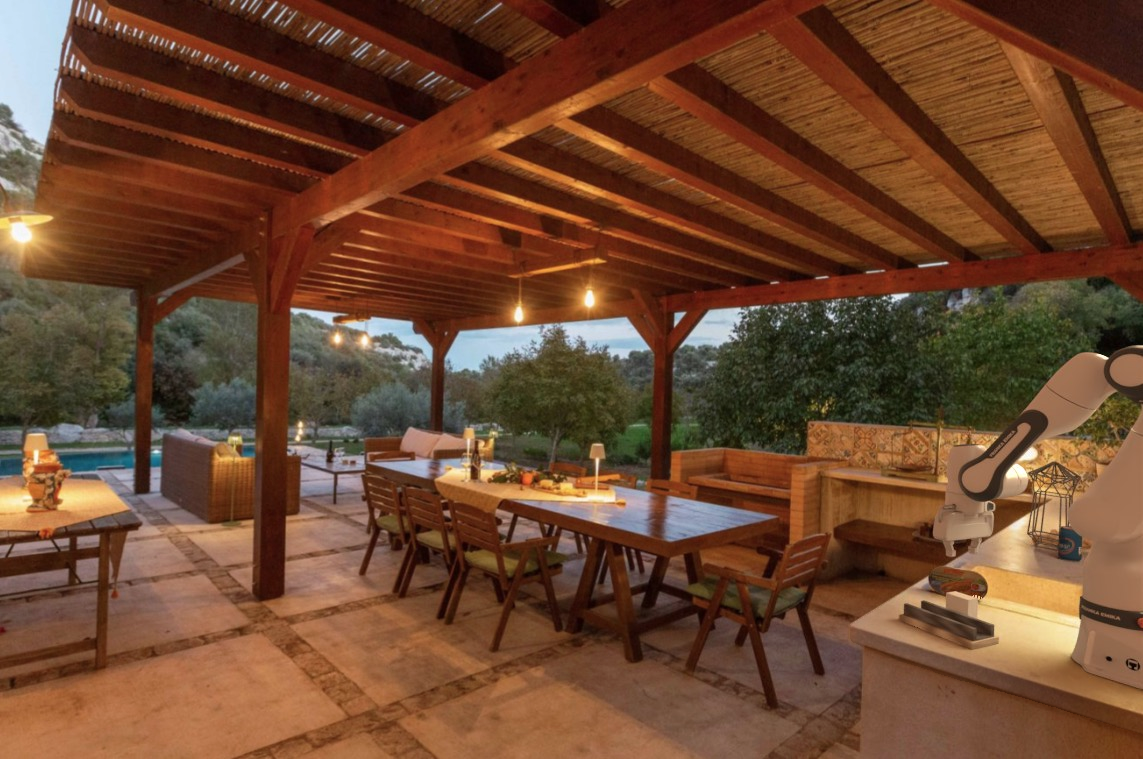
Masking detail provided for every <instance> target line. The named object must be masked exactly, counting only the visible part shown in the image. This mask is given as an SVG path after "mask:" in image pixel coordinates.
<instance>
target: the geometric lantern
mask: <svg viewBox="0 0 1143 759" xmlns="http://www.w3.org/2000/svg"><path fill="white" fill-rule="evenodd" d="M1051 468H1052V469H1051ZM1057 468H1058V470H1059V472H1060V473H1061V475H1060V474H1058V471H1057ZM1050 469H1051V473H1048V472H1049V471H1050ZM1039 473H1040V474H1039ZM1027 475H1028V476H1029V477H1030V478H1031V482H1032V493H1033V495H1032V501H1031V507H1030V508H1031V509H1030V514H1029V517H1028V518H1029V519H1028V525H1027V530H1026V531H1027V532H1026V533H1027V534H1026V535H1028V536H1029V537H1030V538H1031V539H1032V540H1033V541H1034V542H1035V543H1034V547H1036V548H1041V549H1046V550H1052V551H1057V552H1058V544H1055V543H1058V540H1059V539H1056V538H1051V537H1049V536H1047V537H1046V536H1042V534H1047V535H1053V536H1056V537H1057V536H1058V537H1059V533H1053V532H1047V531H1043V526H1044V519H1045V518H1044V516H1045V508H1046V498H1047V496H1049V497H1055V498H1059V517H1058V519H1059V522H1058V531H1059V530H1060V529H1061V526H1062V504H1063V501H1062V500H1063V499H1064V500H1065V510H1064V511H1065V512H1064V513H1065V526H1068V527H1070V524H1069V521H1068V510H1069V508H1070V506H1071V505H1072V503H1073V502H1074V497H1073V496H1074V494H1075V490H1076V488H1077V485H1078V484H1079V482H1080V481H1081V479H1082V478H1083V477H1082V476H1081V475H1078V474H1077V473H1076V472H1074V471H1072V470H1070V469H1069V468H1067V467H1066V466H1064V465H1063V464H1061V463H1060V462H1059V461H1050V462H1049V463H1047V464H1045V465H1042V466H1040V467H1037V468H1036V469H1033V470H1030V471H1029V472H1027ZM1049 475H1050V476H1049ZM1038 476H1039V477H1038ZM1040 477H1041V478H1042V479H1041V478H1040ZM1044 478H1046V479H1050V482H1045V479H1044ZM1057 480H1058V481H1057ZM1038 481H1039V482H1040V483H1042V485H1041V486H1040V485H1039V483H1038ZM1070 481H1071V482H1072V486H1070V487H1069V489H1067V486H1066V485H1065V484H1067V483H1069V482H1070ZM1035 482H1036V484H1037V486H1038V489H1037V490H1035ZM1056 484H1063V487H1064V488H1065V490H1066V491H1067V492H1066V493H1060V492H1059V490H1058V488H1057V487H1056V486H1055V485H1056ZM1044 485H1049V486H1047V488H1046V489H1045V490H1042V487H1043V486H1044ZM1052 486H1053V488H1054V490H1055V491H1056V492H1052V491H1048V490H1049V489H1050V488H1051V487H1052ZM1072 489H1073V490H1072ZM1071 490H1072V492H1071V494H1070V491H1071ZM1047 493H1049V494H1047ZM1053 494H1055V495H1053ZM1038 495H1039V496H1038ZM1042 496H1043V497H1044V498H1043V505H1042V515H1041V523H1040V530H1036V529H1037V524H1038V516H1039V510H1040V504H1041V497H1042ZM1037 497H1038V498H1037ZM1037 499H1038V501H1037ZM1036 506H1037V507H1036ZM1036 508H1037V509H1036ZM1032 515H1033V516H1032ZM1031 520H1032V521H1031ZM1031 523H1032V526H1031ZM1030 527H1032V529H1031V531H1030ZM1037 533H1039V534H1037ZM1036 537H1037V538H1036ZM1045 541H1049V542H1045ZM1050 542H1052V543H1050ZM1053 542H1054V544H1053ZM1039 545H1044V546H1039ZM1045 545H1046V546H1051V547H1056V548H1051V547H1045Z"/></svg>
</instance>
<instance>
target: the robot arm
mask: <svg viewBox="0 0 1143 759" xmlns="http://www.w3.org/2000/svg"><path fill="white" fill-rule="evenodd" d="M1115 393H1120V395H1121V394H1122V395H1123V396H1124V397H1126V398H1128V400H1130V401H1131V402H1133V403H1135V404H1136V405H1141V411H1140V412H1139V415H1138V417H1137V419H1136V421H1135V422H1134V424H1133V425H1132V427H1131V429H1130V430H1129V432H1128V434H1127V436H1126V437H1125V439H1124V440H1123V443H1122V444H1121V446H1120V448H1119V449H1118V451H1117V452H1116V454H1115V455H1114V457H1113V458H1112V460H1111V461H1110V463H1108V465H1107V466H1106V467H1105V468H1104V470H1103V471H1101V472H1100V474H1099V475H1098V476H1096V478H1095V479H1094V480H1093V481H1092V483H1091V484H1090V485H1089V486H1088V487H1087V489H1086V490H1085V491H1084V493H1083V494H1081V496H1079V497H1078V498H1077V499H1076V500H1075V501H1073V503H1072V505H1071V504H1070V508H1069V507H1068V509H1069V510H1068V509H1067V522H1068V521H1069V526H1070V527H1072V529H1073V530H1074V531H1075V532H1076V533H1077V534H1079V535H1080V536H1082V539H1083V538H1084V539H1086V540H1089V541H1091V542H1092V543H1091V546H1090V549H1089V552H1088V553H1087V555H1086V557H1085V558H1084V561H1083V564H1082V565H1083V566H1082V568H1083V569H1082V589H1081V590H1082V593H1081V594H1082V595H1081V596H1079V602H1078V603H1079V604H1078V617H1079V620H1080V624H1079V630H1078V634H1077V638H1076V642H1075V645H1074V648H1073V650H1072V653H1071V655H1070V656H1071V658H1072V660H1073V661H1074V662H1076V663H1077V664H1078V665H1080V666H1081V667H1082V669H1083V671H1085V672H1087V673H1088V674H1092V675H1095V676H1098V677H1101V678H1105V679H1108V680H1111V681H1114V682H1116V683H1117V682H1118V683H1121V684H1124V685H1127V686H1129V687H1133V688H1137V689H1140V690H1143V345H1139V344H1138V345H1131V346H1126V347H1124V348H1123V347H1122V348H1121V349H1118V350H1117V351H1115V352H1113V353H1112V354H1111V355H1110V356H1109V357H1107V356H1105V355H1102V354H1099V353H1097V352H1080V353H1078V354H1076V355H1074V356H1073V357H1072V358H1070V359H1069V360H1068V361H1067V362H1065V363H1064V365H1062V366H1061V367H1060V368H1058V370H1057V371H1055V373H1054V375H1052V376H1051V377H1050V379H1049V380H1048V381H1047V382H1046V383H1045V384H1044V386H1043V387H1042V388H1041V389H1040V390H1039V392H1038V393H1037V395H1036V396H1034V398H1033V399H1032V400H1031V402H1030V403H1029V404H1028V405H1027V407H1026V408H1025V409H1024V410H1023V411H1022V412H1021V413H1020V414H1019V416H1017V417H1016V418H1015V419H1014V420H1013V421H1012V422H1011V423H1010V424H1009V425H1008V427H1006V428H1005V430H1003V432H1002V433H1000V435H998V437H997V438H996V439H995V440H994V441H993V443H992V444H990V446H989V447H988V448H986V446H984V445H982V444H980V443H963V444H955V445H953V446H952V447H951V448H950V450H949V452H948V456H947V462H946V478H947V485H946V487H945V495H944V498H945V499H944V500H945V502H944V504H942V505H941V506H940V508H939V509H938V510H937V512H936V513H935V517H934V522H933V528H932V536H933V537H934V539H936V540H938V541H941V542H942V544H943V546H944V548H945V556H946V557H948V558H953V557H956V552H957V550H955V549H954V546H953V545H954V544H955V541H963V540H971V542H970V545H968V547H967V549H968V551H967V552H968V554H971V555H977V554H979V548H980V545H981V543H982V542H983V540H982V538H988V537H991V536H992V534H993V530H994V520H995V516H994V513H993V512H995V511H996V504H995V502H992V501H994V500H997V499H999V500H1001V499H1007V498H1014V497H1017V496H1020V495H1022V494H1023V493H1024V492H1025V491H1027V489H1028V486H1029V474H1028V472H1027V471H1026V470H1025V468H1024V467H1023V466H1022V465H1021V464H1020V463H1018V461H1020V459H1021V458H1022V457H1023V456H1024V455H1025V454H1026V453H1027V452H1028V451H1029V450H1031V449H1032V447H1034V446H1035V445H1037V444H1038V443H1040V442H1043V441H1045V440H1048V439H1051V438H1054V437H1056V436H1059V435H1063V434H1067V433H1071V432H1073V431H1074V430H1076V429H1078V427H1081V425H1083V424H1084V423H1085V422H1087V420H1089V419H1090V418H1091V417H1092V415H1093V414H1094V413H1095V412H1096V411H1097V410H1098V409H1099V408H1100V407H1101V405H1102V404H1103V403H1104V402H1105V401H1106V399H1108V397H1110V396H1111V395H1113V394H1115Z"/></svg>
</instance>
